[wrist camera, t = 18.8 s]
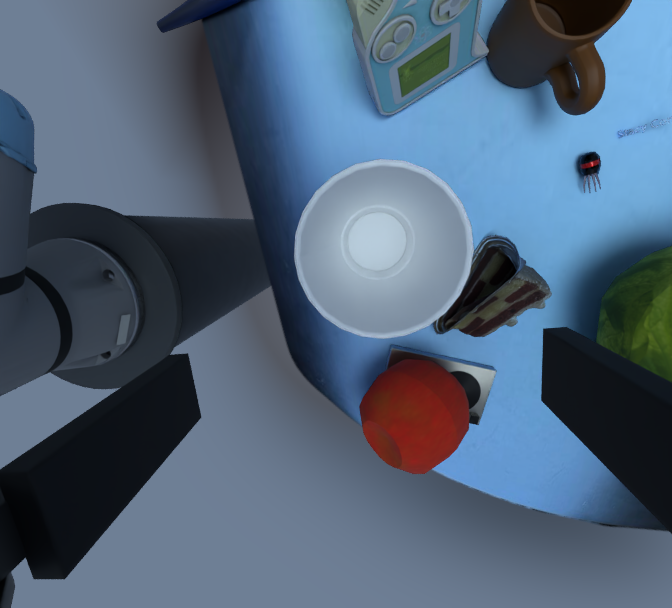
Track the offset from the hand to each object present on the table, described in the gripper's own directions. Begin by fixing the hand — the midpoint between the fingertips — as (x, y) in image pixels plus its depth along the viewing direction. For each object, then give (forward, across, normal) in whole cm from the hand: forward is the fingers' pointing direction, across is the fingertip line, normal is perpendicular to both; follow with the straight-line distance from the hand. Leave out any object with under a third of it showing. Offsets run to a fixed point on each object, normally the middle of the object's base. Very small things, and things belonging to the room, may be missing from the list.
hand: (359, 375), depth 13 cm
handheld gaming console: (+12, +5, +22) cm, 26 cm away
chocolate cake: (+27, +13, -4) cm, 31 cm away
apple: (+17, 0, -15) cm, 22 cm away
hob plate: (+27, +7, -14) cm, 31 cm away
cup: (+28, +2, +3) cm, 28 cm away
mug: (+27, +18, +18) cm, 37 cm away
